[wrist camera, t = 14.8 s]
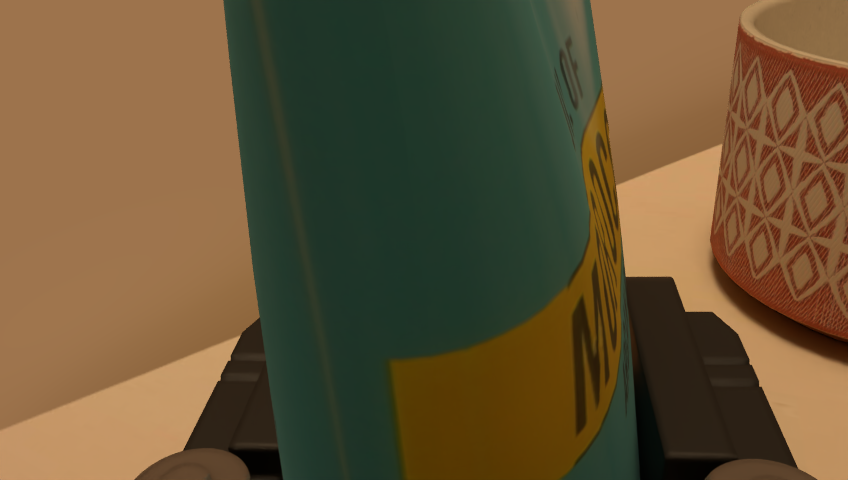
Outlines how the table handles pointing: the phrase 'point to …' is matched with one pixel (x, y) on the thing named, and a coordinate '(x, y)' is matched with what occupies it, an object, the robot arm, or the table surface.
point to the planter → (788, 163)
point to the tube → (435, 239)
